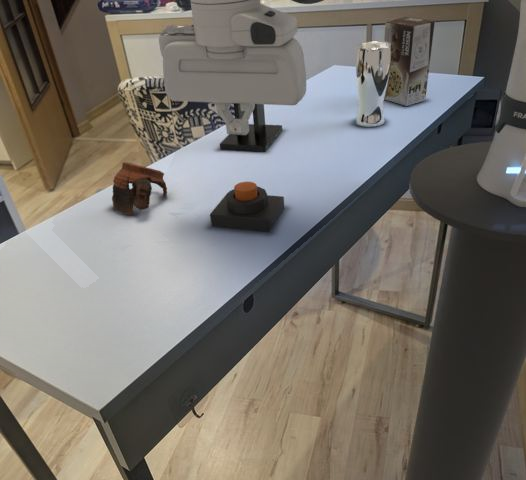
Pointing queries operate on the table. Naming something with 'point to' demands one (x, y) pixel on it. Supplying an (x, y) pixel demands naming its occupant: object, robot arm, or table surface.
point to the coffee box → (409, 59)
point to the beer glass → (372, 81)
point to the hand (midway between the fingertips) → (238, 133)
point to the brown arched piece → (135, 187)
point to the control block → (248, 212)
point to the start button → (245, 191)
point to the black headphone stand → (252, 132)
